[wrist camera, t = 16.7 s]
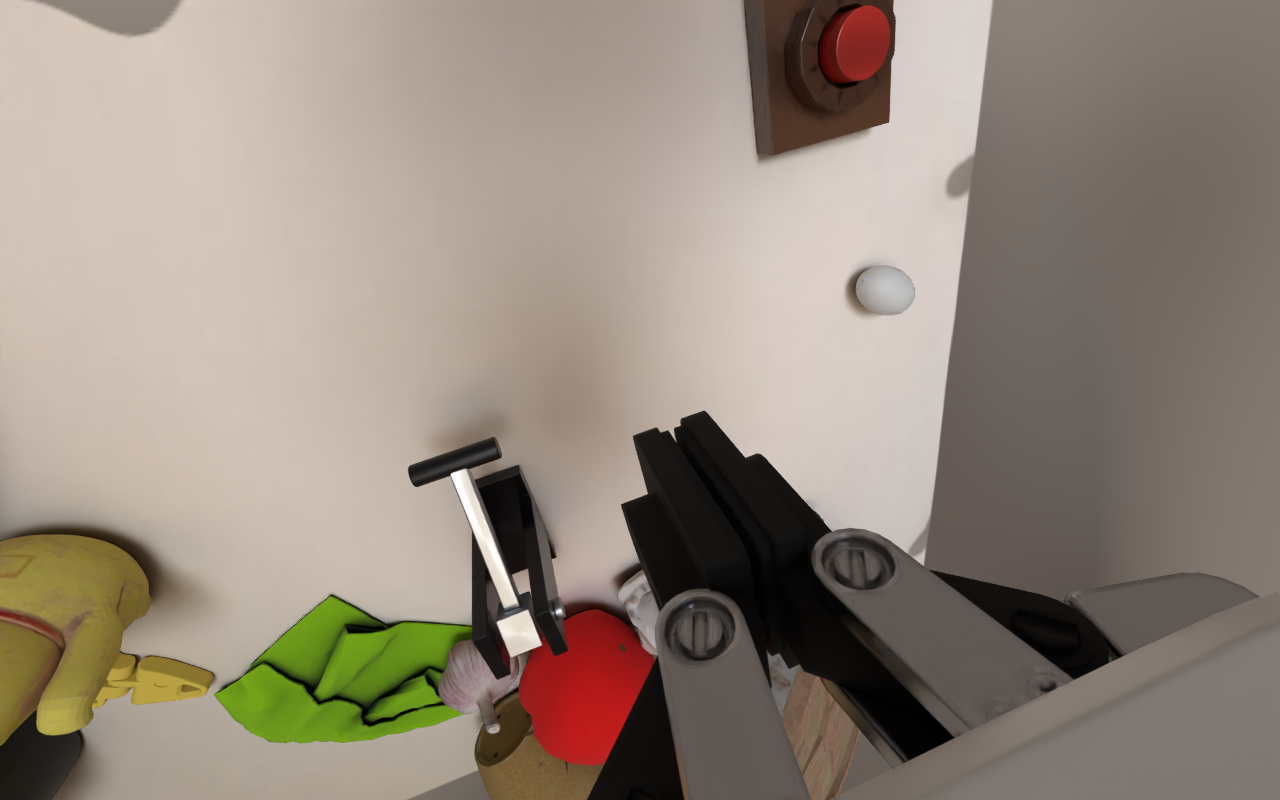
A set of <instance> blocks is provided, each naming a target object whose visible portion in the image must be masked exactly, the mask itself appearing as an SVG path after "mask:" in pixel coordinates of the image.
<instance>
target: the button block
mask: <svg viewBox="0 0 1280 800" xmlns="http://www.w3.org/2000/svg"><path fill="white" fill-rule="evenodd" d="M744 2H745V14H746V25H747V37H748V48H749V60H750V72H751V83H752V95H753V107H754V118H755V130H756V141H757V153H758V154H764V155H775V154H779V153H783V152H786V151H790V150H793V149H797V148H800V147H804V146H807V145H811V144H815V143H818V142H822V141H825V140H829V139H832V138H836V137H839V136H843V135H846V134H850V133H854V132H857V131H861V130H864V129H868V128H871V127H875V126H878V125H882V124H885V123H889V115H890V86H891V60H892V58H893V55H894V51H895V24H896V20H895V15H894V13H893V0H744ZM866 5H869V6H874V7H876V8H878V9H880V10H881V11H882V12H883V13H884V15H885V16H886V18H887V20H888V23H889V28H890V44H889V49H888V52H887V55H886V57H885V60H884V62H883V63H882V65H881V66H880V68H879V69H878V70H877V71H876V72H875V73H874V74H873V75H872V76H870V77H869V78H867V79H864V80H860V81H854V82H847V83H836V82H833V81H832V80H830V79H829V78H828V77H827V76H826V75H825V73H824V72H823V70H822V67H821V64H820V58H819V49H820V43H821V39H822V36H823V34H824V31H825V29H826V28H827V26H828V25H829V23H830V22H831V21H832V20H833V19H834V18H835V17H836V16H838V15H839V14H841V13H844V12H847V11H850V10H853V9H856V8H859V7H862V6H866Z"/></svg>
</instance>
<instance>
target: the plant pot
mask: <svg viewBox="0 0 1280 800" xmlns="http://www.w3.org/2000/svg"><path fill="white" fill-rule="evenodd" d="M495 712H496V716H497V719H498V721H499V724H500V730H499V732H497V733H493V734H491V733H488V732H487V730H486V727H485V724H483V726H482V728H481V730H480V732H479V735H478V737H477V741H476V744H475V760H476V763H477V766H478V769H479V772H480V775H481V777H482V780H483V782H484V785H485V788H486V790H487V792H488V795H489V797H490V799H491V800H587V798H588V796H589V794H590V792H591V790H592V788H593V786H594V784H595V782H596V780H597V778H598V776H599V774H600V772H601V770H602V768H603V766H604V764H605V763H603V764H600V765H580V764H571V763H569V762H567V764H568V775H567V769H566V764H565V761H564V760H561V759H559V758H557V757H554V756H552V755H549V754H547V752H546V751H545V750H544V748H543V747H542V746H541V745H540V743H539V742H538V741H537V739H536V738H535V737H534V734H532V735H529V736H523V735H524V734H526V733H528V732H530V731H532V730H533V725H532V716H531V715H530V714H529V713H528V712H527V711H526V710H525V709H524V708H523V706H522V705H521V703H520V701H519V692H516V693H514V694H512V695H510V696H509V697H507V698H506V699H505V700H503V701H502V702H501V703H500V704H499V705H498V706H497V707H496V708H495Z"/></svg>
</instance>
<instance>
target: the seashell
mask: <svg viewBox="0 0 1280 800" xmlns="http://www.w3.org/2000/svg"><path fill="white" fill-rule="evenodd" d="M618 599H619V601H620V602H621V604H626V610H627V613H628V615H629V618H630V620H631V622H632V623H633V625H635V626H636V627H637V630H638V633H639V638H640V642H641V646H642V647H643V648H644V649H645V650H646V651H647V652H649V653H650V654H654V655H658V654H657V648H656V643H655V624H656V620H657V617H658V614H659V613H660V612H659V609H658V607H657V604H656V602H655V599H654V597H653V594H652V591H651V589H650V586H649V584H648V581H647V579H646V576H645V574H644V571H643V570H641V571H639V572H638V573H637V574H635V575H634V576H633V577H632V578H630V579H629V580H628V581H627V582H626V583H625V584H624V585H623V586H622V587H621V588H620V590H619V592H618Z"/></svg>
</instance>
